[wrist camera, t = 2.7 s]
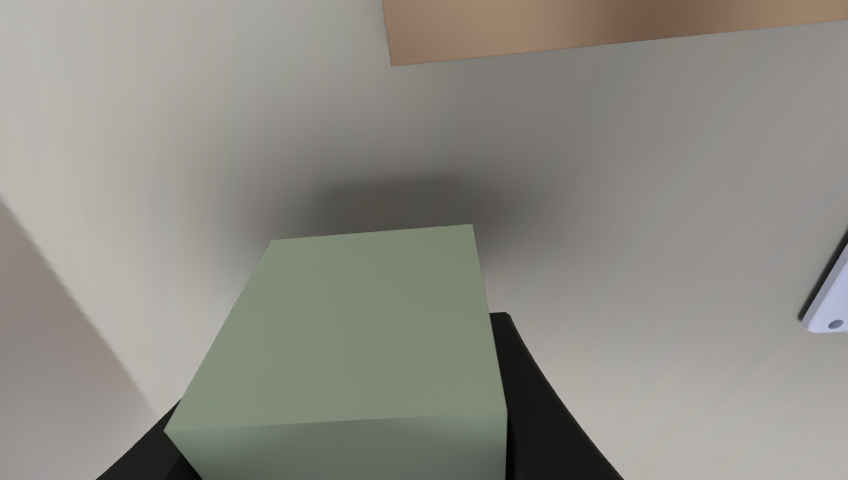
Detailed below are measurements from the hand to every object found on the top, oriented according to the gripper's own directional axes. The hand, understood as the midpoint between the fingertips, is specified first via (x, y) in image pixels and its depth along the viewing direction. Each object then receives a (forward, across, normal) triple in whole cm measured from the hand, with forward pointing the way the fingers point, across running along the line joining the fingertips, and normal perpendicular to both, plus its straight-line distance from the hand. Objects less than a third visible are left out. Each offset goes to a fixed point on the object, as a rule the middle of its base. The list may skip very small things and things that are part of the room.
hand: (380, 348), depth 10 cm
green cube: (+2, 0, 0) cm, 2 cm away
